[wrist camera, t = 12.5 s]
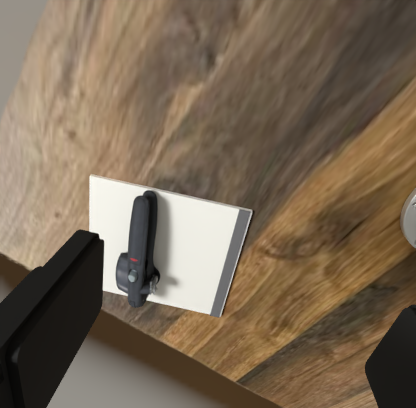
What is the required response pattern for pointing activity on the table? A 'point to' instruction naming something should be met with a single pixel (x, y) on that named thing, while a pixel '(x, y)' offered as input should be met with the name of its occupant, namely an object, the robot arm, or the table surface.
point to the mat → (173, 242)
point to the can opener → (140, 252)
